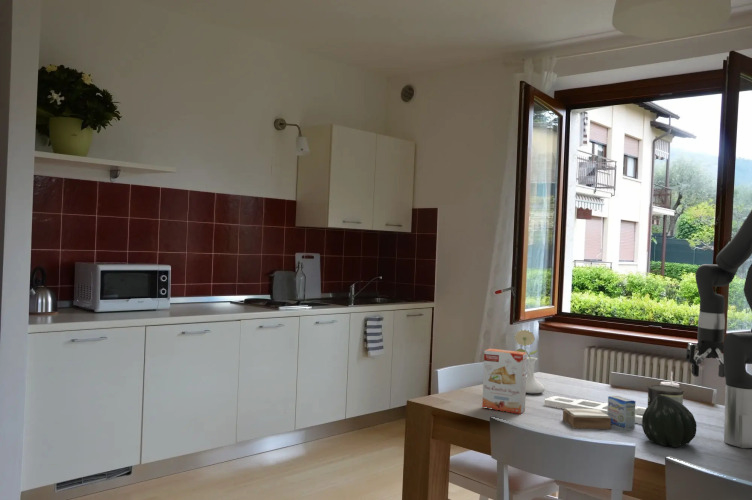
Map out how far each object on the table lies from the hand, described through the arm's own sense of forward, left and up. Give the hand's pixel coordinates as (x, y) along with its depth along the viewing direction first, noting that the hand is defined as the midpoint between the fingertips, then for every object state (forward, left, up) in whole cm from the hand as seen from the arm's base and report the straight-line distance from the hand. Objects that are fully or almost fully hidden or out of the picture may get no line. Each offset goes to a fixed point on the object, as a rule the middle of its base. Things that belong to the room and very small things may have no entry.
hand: (708, 376), depth 202 cm
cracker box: (+22, +61, -18) cm, 67 cm away
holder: (+22, +21, -18) cm, 35 cm away
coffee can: (-3, +16, -18) cm, 24 cm away
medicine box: (+6, +26, -18) cm, 32 cm away
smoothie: (+28, -2, -18) cm, 33 cm away
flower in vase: (+53, +43, -18) cm, 70 cm away
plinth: (+5, +38, -18) cm, 42 cm away
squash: (-15, +21, -18) cm, 31 cm away
